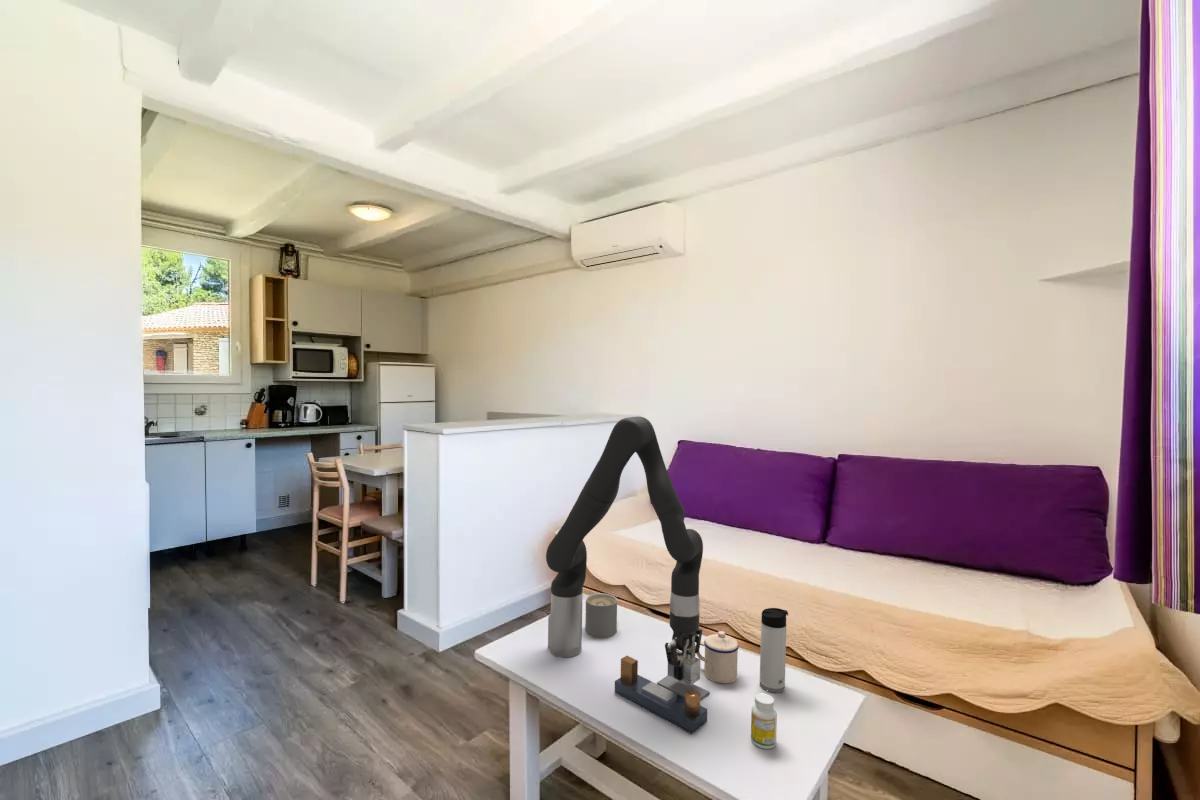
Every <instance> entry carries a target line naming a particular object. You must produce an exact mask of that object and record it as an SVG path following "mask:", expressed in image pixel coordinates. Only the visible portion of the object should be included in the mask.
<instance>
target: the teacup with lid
mask: <svg viewBox="0 0 1200 800" xmlns="http://www.w3.org/2000/svg"><path fill="white" fill-rule="evenodd" d="M700 646H703V647H704V656H703V655H702V654H701V653H700V651H699V653H696V654H695V655H696V657H697V658H698V659H701V662H704V668H703V669H704V675H705V676H706V678H708V680H710V681H713V682H714V683H715V682H716V683H717V684H718V683H719V684H728V683H733V682H734V681H736V680H737V677H738V657H739V656H738V655H739V654H738V650H739V647H740V646H739V642H738V641H737V640H736V639H735V638H734V637H732V636H730V635H727V634H726V632H725V631H722V630H719V631H717V633H714V634H713V633H712V634H709V635H707V636H706V637H705V638H704V641H701V643H700Z"/></svg>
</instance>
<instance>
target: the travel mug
mask: <svg viewBox="0 0 1200 800" xmlns="http://www.w3.org/2000/svg"><path fill="white" fill-rule="evenodd" d="M787 616H789V612H788V610H786V609H782V608H777V607H768V608H765V609H763V610H762V612H761V622H760V653H759V654H760V656H759V660H760V661H759V686H760V687H761V688H762V689H763V688H764V691H767V690H768V691H767V692H769V691H771V692H770V693H774V692H778V693H781V692H780V691H782V690H783V691H785V689H786V683H785V682H786V659H787V658H786V657H787V656H786V654H787V653H786V652H787V650H786V649H787ZM784 688H785V689H784ZM783 691H782V692H783Z"/></svg>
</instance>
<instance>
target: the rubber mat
mask: <svg viewBox="0 0 1200 800" xmlns="http://www.w3.org/2000/svg"><path fill="white" fill-rule="evenodd" d="M656 684H658V685H660V686H662V687H664V688H666V689H668V690H670V691H672V692H674V693H676V694H678V695H680V696H682V697H684V698H685V693H686V691H688V690H695V691H698V692H699V693H700V702H701V701H702V700H704V699H705V698H706V697H707V696H710V691H709V690H708V689H704V688H703V687H700V686H698V685H696V684H695V683H694V684H692V685H691V686H690V685H688V684H686V683H684V682H681V681H679V680H677V679H675V678H673V677H671V676H668V674H667V675H666V676H664V677H663V678H662V679H660V680H658V681H657V682H656Z"/></svg>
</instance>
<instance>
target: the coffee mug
mask: <svg viewBox="0 0 1200 800" xmlns="http://www.w3.org/2000/svg"><path fill="white" fill-rule="evenodd" d="M584 619H585V622H584V623H585V628H584V629H585V633H586V635H588V636H590V637H592V638H596V639H607V638H611V637H613V636H615V635H616V634H617V631H618V630H617V628H618V627H617V626H618V598H617V597H616V596H614V595H612V594H608V593H603V592H602V593H592V594H589V595H588V596H586V598H585V618H584Z"/></svg>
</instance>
